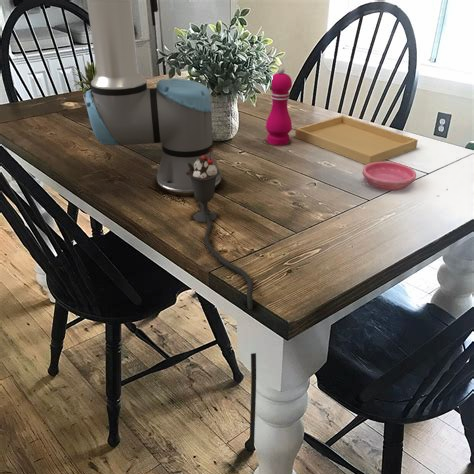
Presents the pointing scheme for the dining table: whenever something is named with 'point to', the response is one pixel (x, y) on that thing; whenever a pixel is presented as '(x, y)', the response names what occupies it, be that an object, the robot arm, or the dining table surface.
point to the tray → (356, 139)
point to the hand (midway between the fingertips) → (129, 27)
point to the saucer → (389, 175)
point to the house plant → (89, 76)
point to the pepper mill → (279, 110)
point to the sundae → (203, 184)
